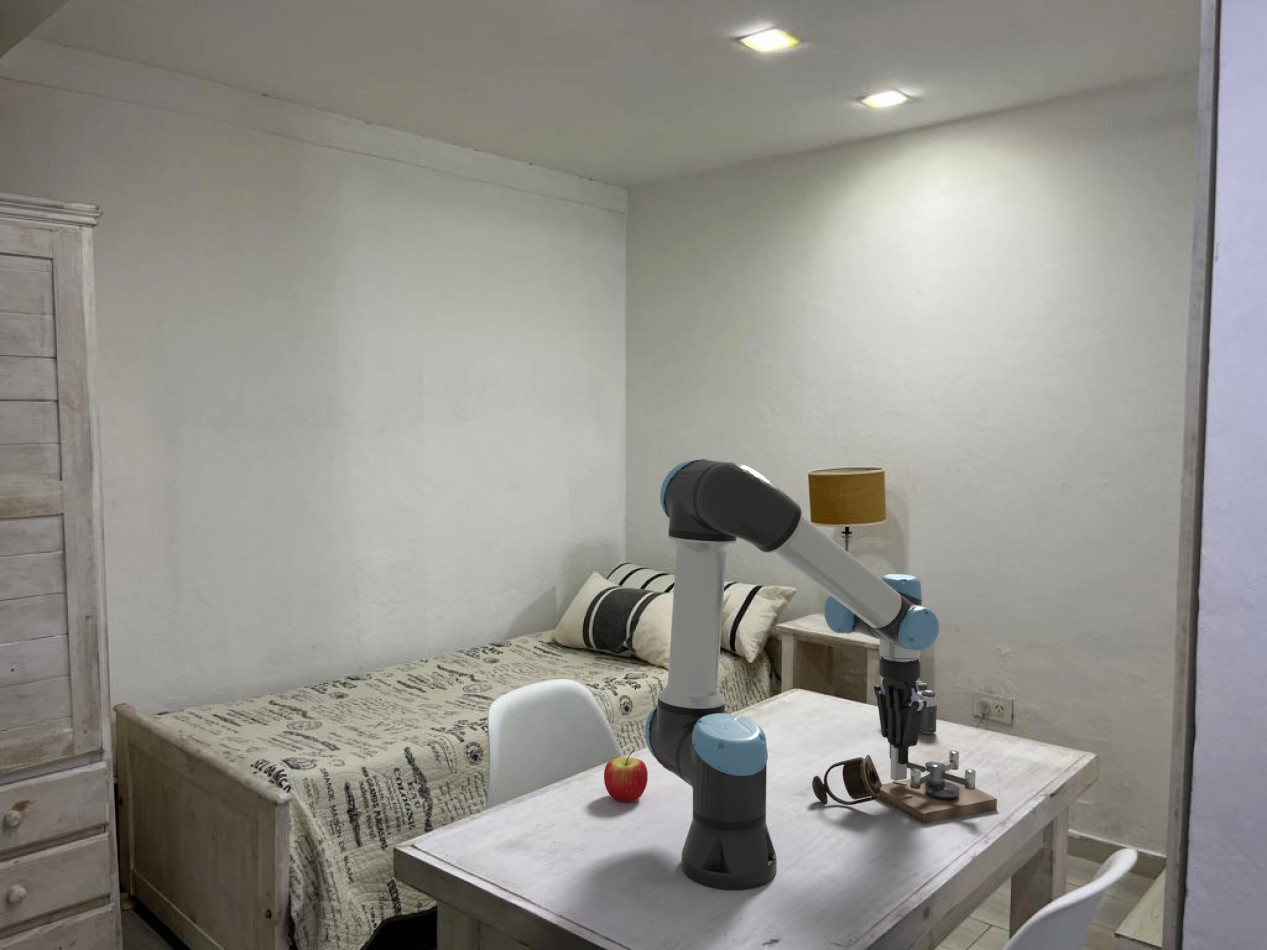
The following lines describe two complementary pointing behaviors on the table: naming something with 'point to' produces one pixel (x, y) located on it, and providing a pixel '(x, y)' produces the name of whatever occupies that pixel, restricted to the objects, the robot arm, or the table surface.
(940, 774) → the grey star handwheel
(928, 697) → the camera
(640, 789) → the apple
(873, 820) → the table surface
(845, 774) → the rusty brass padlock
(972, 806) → the stand board
